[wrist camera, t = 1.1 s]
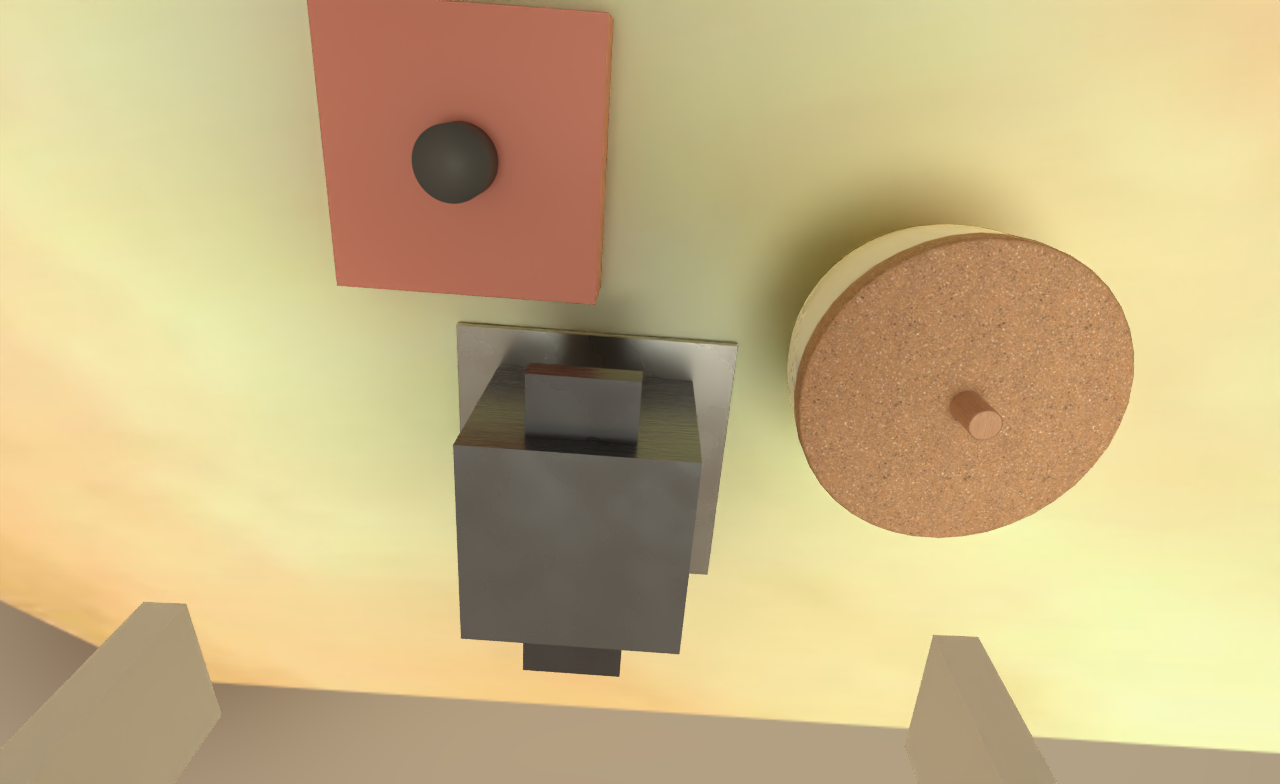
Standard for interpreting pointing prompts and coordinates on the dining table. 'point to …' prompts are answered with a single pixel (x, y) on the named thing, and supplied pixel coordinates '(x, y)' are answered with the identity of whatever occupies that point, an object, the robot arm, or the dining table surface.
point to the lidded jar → (956, 378)
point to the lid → (464, 145)
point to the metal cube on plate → (585, 488)
